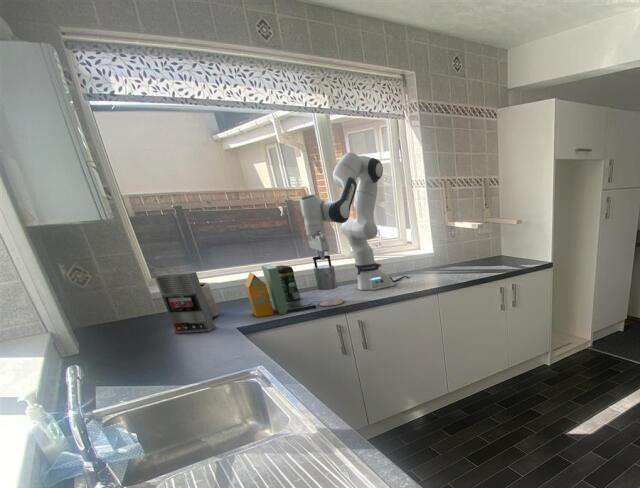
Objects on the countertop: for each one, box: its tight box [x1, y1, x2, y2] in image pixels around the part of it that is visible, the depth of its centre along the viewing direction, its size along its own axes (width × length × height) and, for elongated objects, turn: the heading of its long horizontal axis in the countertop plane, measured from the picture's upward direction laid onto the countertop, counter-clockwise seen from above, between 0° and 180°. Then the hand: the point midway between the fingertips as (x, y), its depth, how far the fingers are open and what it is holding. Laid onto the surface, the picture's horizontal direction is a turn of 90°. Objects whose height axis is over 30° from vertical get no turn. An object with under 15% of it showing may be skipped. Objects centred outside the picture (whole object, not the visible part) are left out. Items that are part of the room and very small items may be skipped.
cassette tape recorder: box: [153, 271, 216, 335], centre depth 181 cm, size 14×6×25 cm, turn 99°
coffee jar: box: [275, 264, 301, 302], centre depth 230 cm, size 10×8×19 cm
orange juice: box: [244, 272, 275, 318], centre depth 205 cm, size 8×9×20 cm
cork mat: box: [319, 299, 344, 307], centre depth 224 cm, size 12×12×1 cm
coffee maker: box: [261, 263, 317, 315], centre depth 213 cm, size 18×15×22 cm
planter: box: [200, 282, 220, 320], centre depth 201 cm, size 18×18×16 cm
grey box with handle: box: [312, 254, 339, 291], centre depth 216 cm, size 10×12×16 cm
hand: (321, 259), depth 214 cm, fingers closed on grey box with handle
